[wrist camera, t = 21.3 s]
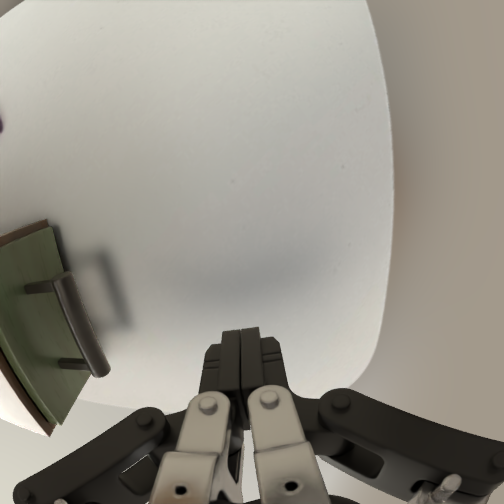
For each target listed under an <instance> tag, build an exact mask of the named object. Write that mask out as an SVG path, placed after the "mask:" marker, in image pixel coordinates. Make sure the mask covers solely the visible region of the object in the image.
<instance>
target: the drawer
mask: <svg viewBox="0 0 504 504" xmlns="http://www.w3.org/2000/svg"><path fill="white" fill-rule="evenodd" d="M0 346H1V348H2V350H3V352H4V354H5V356H6V358H7V359H8V360H6V362H7V364H8V365H9V367H10V369H11V370H12V372H13V374H14V375H15V377H16V379H17V380H18V382H19V383H20V385H21V386H22V388H23V390H24V391H25V393H26V394H27V395H28V397H29V398H30V400H31V401H32V403H33V404H34V405H35V407H36V408H37V406H38V408H39V409H40V410H41V412H42V413H43V414H44V416H45V417H46V418H47V420H48V421H49V422H50V423H52V424H55V425H59V426H62V424H63V422H64V420H65V418H66V417H67V415H68V413H69V411H70V409H71V407H72V406H73V404H74V402H75V400H76V399H77V397H78V395H79V393H80V392H81V390H82V388H83V387H84V385H85V383H86V382H87V380H88V378H89V377H90V375H91V374H92V375H93V376H94V377H96V378H101V377H104V376H106V375H107V374H108V373H109V372H110V370H111V367H110V365H109V363H108V361H107V359H106V357H105V355H104V353H103V350H102V348H101V346H100V344H99V342H98V339H97V337H96V335H95V333H94V330H93V328H92V325H91V323H90V321H89V318H88V316H87V313H86V310H85V308H84V305H83V303H82V300H81V297H80V294H79V291H78V288H77V286H76V283H75V279H74V276H73V273H72V272H71V271H66V272H64V270H63V266H62V263H61V259H60V256H59V252H58V249H57V245H56V241H55V237H54V233H53V229H52V226H50V227H47V228H43V229H40V230H38V231H36V232H33V233H31V234H28V235H26V236H24V237H21V238H19V239H17V240H15V241H12V242H10V243H8V244H6V245H3V246H1V247H0Z"/></svg>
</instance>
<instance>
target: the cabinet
mask: <svg viewBox="0 0 504 504" xmlns="http://www.w3.org/2000/svg"><path fill="white" fill-rule="evenodd" d="M47 227H48V223H47V219H44V220H41V221H38V222H35V223H32V224H29V225H26V226H23V227H20V228H18V229H15V230H12V231H9V232H7V233H4V234H1V235H0V247H1V246H3V245H6V244H8V243H10V242H12V241H15V240H17V239H19V238H21V237H24V236H26V235H28V234H31V233H33V232H36V231H38V230H40V229H43V228H47ZM0 418H2V419H4V420H6V421H8V422H11V423H13V424H15V425H18V426H20V427H23V428H25V429H28V430H30V431H33V432H36V433H39V434H41V435H44V436H47V437H50V436H51V434H52V432H53V429H54V428H55V426H56V425H55V424H52V423H50V422H49V421H48V420H47V418H46V417H45V416H44V414H43V413H42V412H41V410H40V409H39V408H38V406H37V408H36V407H35V405H34V404H33V403H32V401H31V400H30V398H29V397H28V395H27V394H26V393H25V391H24V390H23V388H22V386H21V385H20V383H19V382H18V380H17V379H16V377H15V375H14V374H13V372H12V370H11V369H10V367H9V365H8V364H7V362H6V360H5V358H4V356H3V355H2V353H1V351H0Z"/></svg>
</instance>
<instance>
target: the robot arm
mask: <svg viewBox="0 0 504 504" xmlns="http://www.w3.org/2000/svg"><path fill="white" fill-rule="evenodd" d="M250 424H251V430H252V438H253V444H254V462H255V468H256V474H257V481H258V487H259V493H260V499H258V500H254V501H250V502H246V503H243V496H242V491H241V483H242V472H243V459H244V443H243V441H244V433H243V432H244V431H243V430H250ZM145 455H147V456H145ZM315 455H318V456H319V457H320V458H321V459H322V460H324V461H325V462H327V463H329V464H331V465H332V466H334V467H336V468H338V469H340V470H341V471H343V472H345V473H347V474H348V475H350V476H352V477H354V478H356V479H358V480H360V481H362V482H364V483H366V484H368V485H370V486H372V487H374V488H376V489H378V490H381V491H383V492H385V493H387V494H390V495H392V496H394V497H396V498H399V499H401V500H404V501H406V502H408V504H487V502H488V499H489V497H490V495H491V493H492V492H493V491H494V490H495V489H496V488H497V487H498V486H500V485H501V484H502V483H503V482H504V442H501V441H496V440H492V439H488V438H485V437H481V436H477V435H474V434H470V433H467V432H463V431H460V430H457V429H454V428H450V427H447V426H444V425H441V424H438V423H435V422H432V421H429V420H426V419H424V418H421V417H418V416H415V415H413V414H410V413H407V412H405V411H402V410H400V409H397V408H395V407H392V406H389V405H387V404H385V403H382V402H380V401H377V400H375V399H372V398H370V397H368V396H365V395H363V394H361V393H359V392H356V391H354V390H351V389H347V388H338V389H333V390H330V391H328V392H327V393H325V394H324V395H323V396H322V397H321V398H320V399H309V398H303V397H300V396H297V395H296V394H294V393H293V392H292V391H291V390H290V388H289V386H288V382H287V377H286V372H285V367H284V362H283V357H282V353H281V348H280V343H279V342H278V341H277V340H276V339H275V338H274V337H266V338H260V332H259V327H253V328H246V329H241V330H240V329H239V330H231V331H223V332H222V341H221V344H212V345H211V346H210V347H209V349H208V350H207V351H206V353H205V359H204V364H203V370H202V376H201V382H200V387H199V393H198V395H197V396H195V397H194V398H193V399H192V400H191V401H190V402H189V404H188V407H187V409H185V410H183V411H180V412H177V413H173V414H169V415H164V413H163V412H162V411H161V410H159V409H157V408H154V407H145V408H141V409H138V410H136V411H135V412H133V413H132V414H130V415H129V416H127V417H126V418H125V419H123V420H122V421H120V422H119V423H117V424H116V425H114V426H113V427H111V428H110V429H108V430H107V431H105V432H104V433H102V434H101V435H99V436H98V437H96V438H95V439H93V440H91V441H90V442H88V443H87V444H85V445H83V446H82V447H80V448H79V449H77V450H76V451H74V452H72V453H70V454H69V455H67V456H65V457H64V458H62V459H60V460H59V461H57V462H56V463H54V464H52V465H50V466H48V467H47V468H45V469H43V470H41V471H40V472H38V473H36V474H34V475H32V476H30V477H29V478H27V479H25V480H23V481H21V482H19V483H18V484H17V485H16V486H15V488H14V491H13V501H14V503H15V504H145V503H147V502H148V501H149V503H148V504H359V503H357V502H355V501H353V500H350V499H348V498H344V497H341V496H335V495H328V492H327V489H326V487H325V484H324V481H323V478H322V475H321V472H320V469H319V466H318V463H317V460H316V457H315ZM144 456H145V457H144ZM143 457H144V458H143ZM141 458H143V459H141ZM140 459H141V460H140ZM139 460H140V461H139ZM137 461H139V462H137ZM136 462H137V463H136ZM135 463H136V464H135ZM133 464H134V465H133ZM132 465H133V466H132ZM130 466H132V467H131V468H129V467H130ZM128 468H129V469H128ZM126 469H127V470H126ZM125 470H126V471H125ZM123 471H125V472H123ZM122 472H123V473H122Z"/></svg>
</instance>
